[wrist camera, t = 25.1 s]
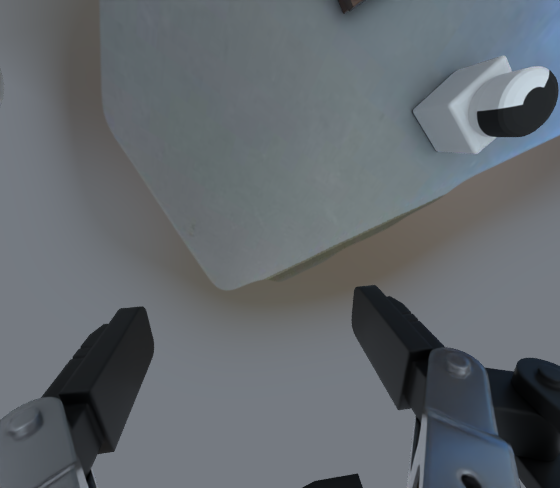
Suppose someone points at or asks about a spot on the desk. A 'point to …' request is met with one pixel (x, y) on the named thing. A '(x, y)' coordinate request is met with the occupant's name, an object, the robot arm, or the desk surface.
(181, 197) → the desk surface
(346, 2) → the chair
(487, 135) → the medicine bottle
